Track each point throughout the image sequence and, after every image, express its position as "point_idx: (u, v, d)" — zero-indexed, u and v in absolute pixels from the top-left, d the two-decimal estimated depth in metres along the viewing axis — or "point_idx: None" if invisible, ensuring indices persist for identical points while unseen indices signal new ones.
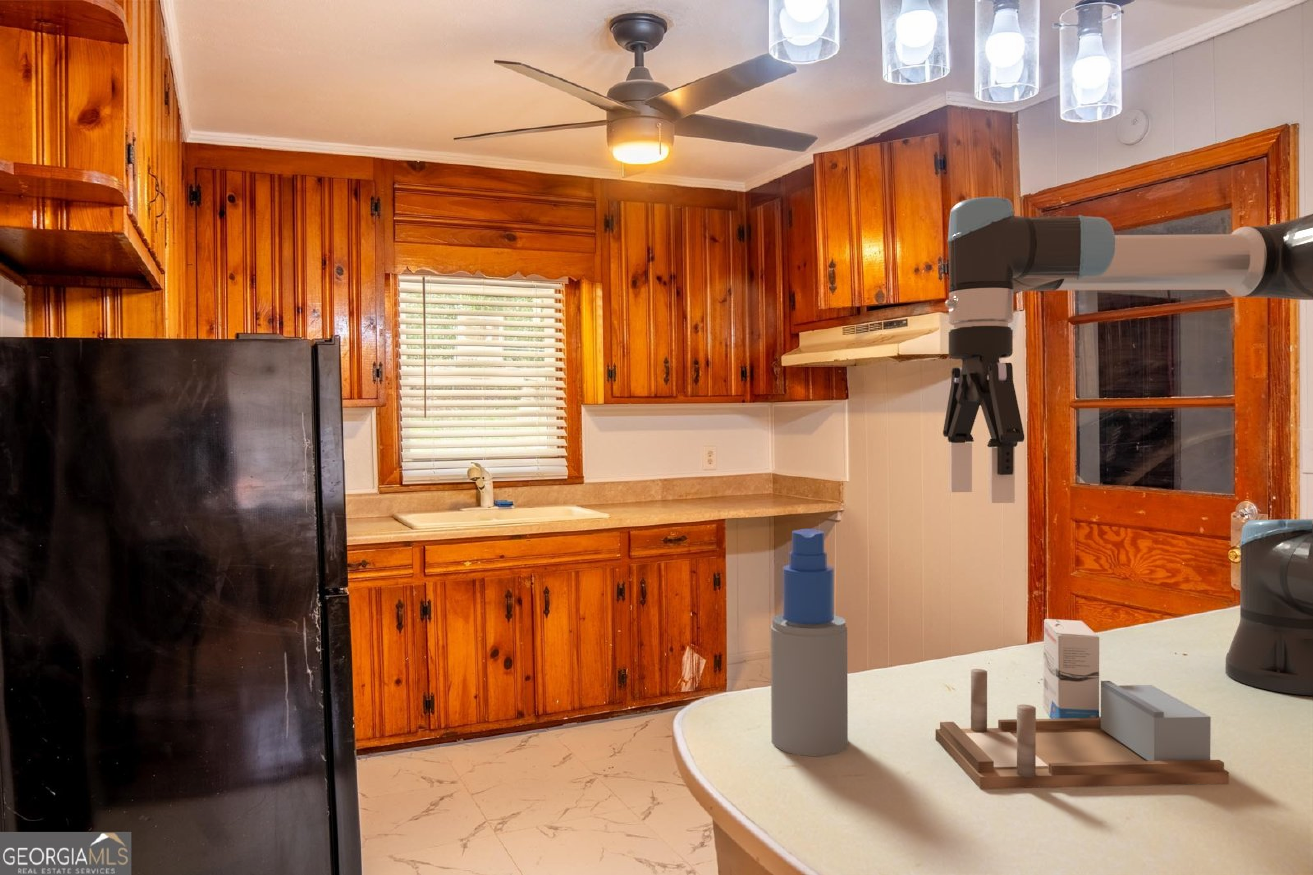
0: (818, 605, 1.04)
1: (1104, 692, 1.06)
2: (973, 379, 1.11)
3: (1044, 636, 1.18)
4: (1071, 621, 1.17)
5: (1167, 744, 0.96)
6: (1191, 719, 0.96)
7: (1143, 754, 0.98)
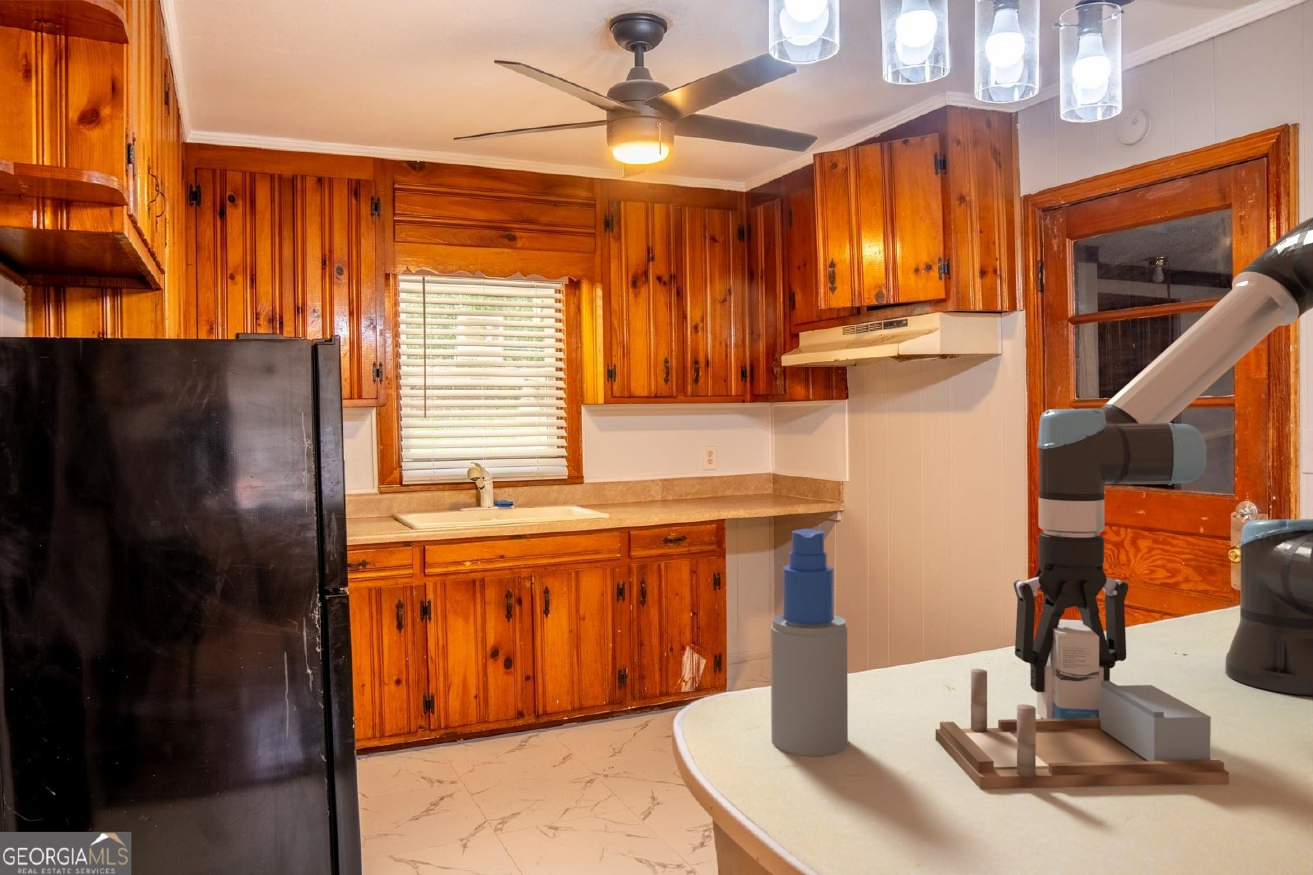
0: (818, 605, 1.04)
1: (1104, 692, 1.06)
2: None
3: None
4: (1071, 621, 1.17)
5: (1167, 744, 0.96)
6: (1191, 719, 0.96)
7: (1143, 754, 0.98)
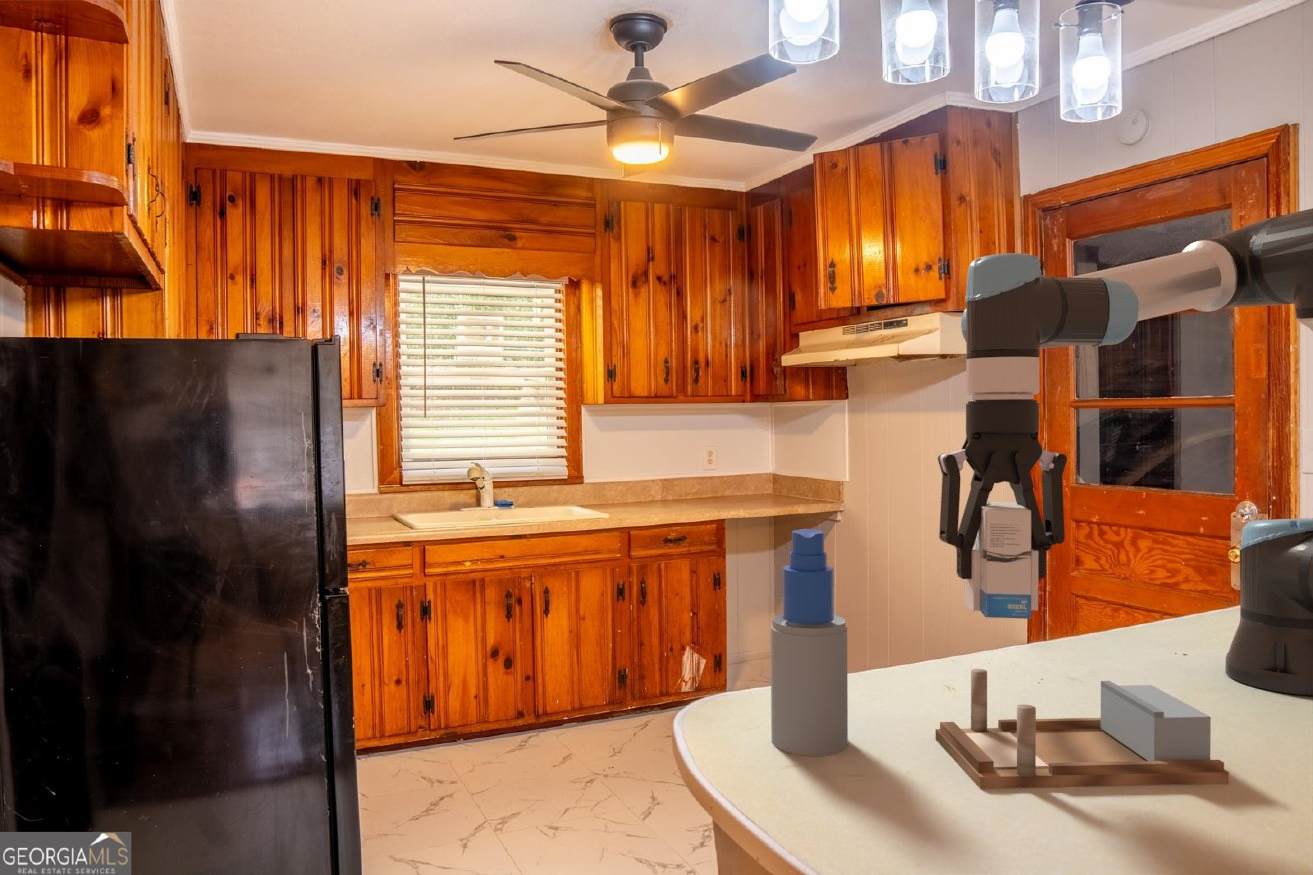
0: (818, 605, 1.04)
1: (1104, 692, 1.06)
2: None
3: None
4: (1004, 502, 1.03)
5: (1167, 744, 0.96)
6: (1191, 719, 0.96)
7: (1143, 754, 0.98)
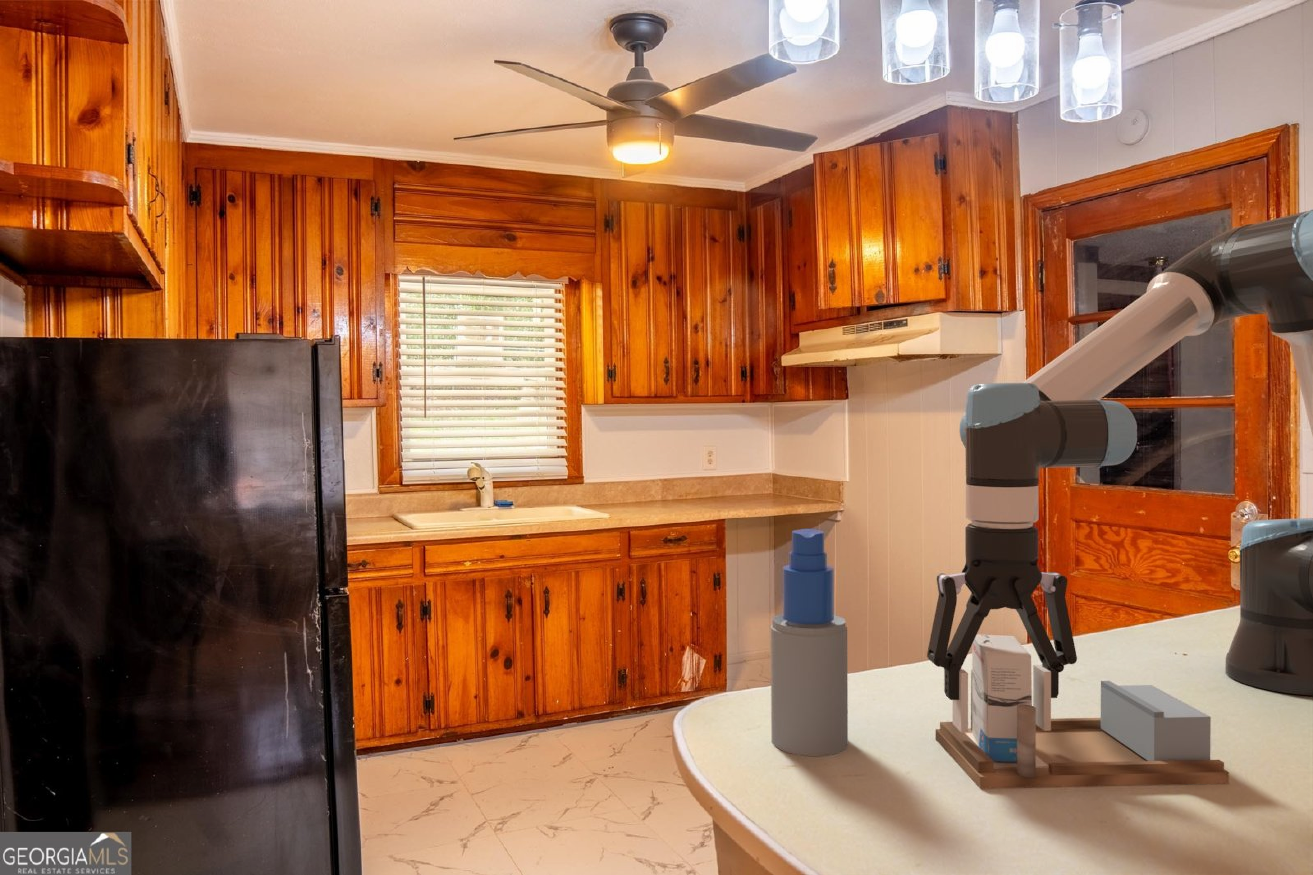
0: (818, 605, 1.04)
1: (1104, 692, 1.06)
2: None
3: (972, 654, 1.05)
4: (1002, 636, 1.04)
5: (1167, 744, 0.96)
6: (1191, 719, 0.96)
7: (1143, 754, 0.98)
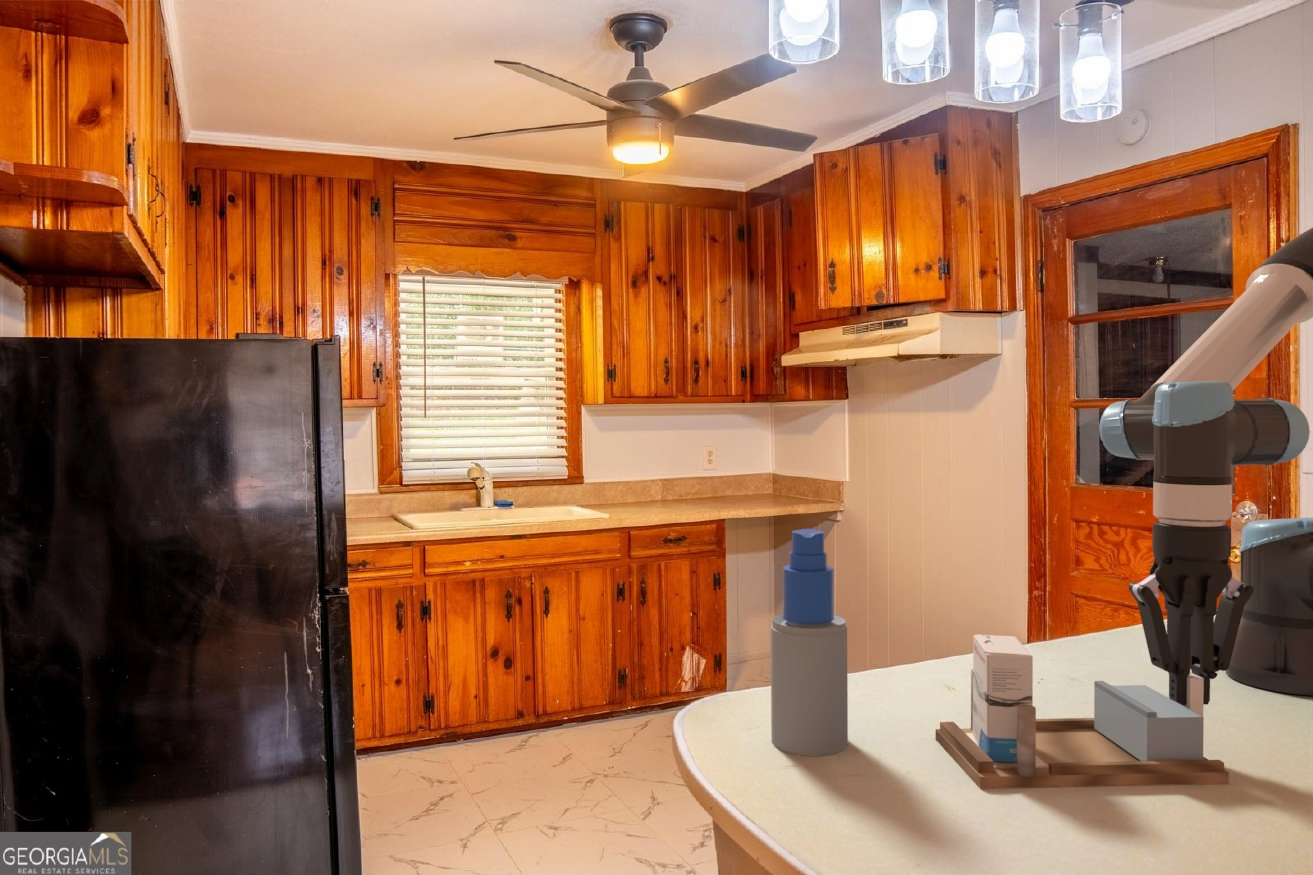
0: (818, 605, 1.04)
1: (1098, 692, 1.06)
2: None
3: (973, 654, 1.05)
4: (1003, 637, 1.04)
5: (1159, 744, 0.96)
6: (1183, 719, 0.96)
7: (1136, 754, 0.98)
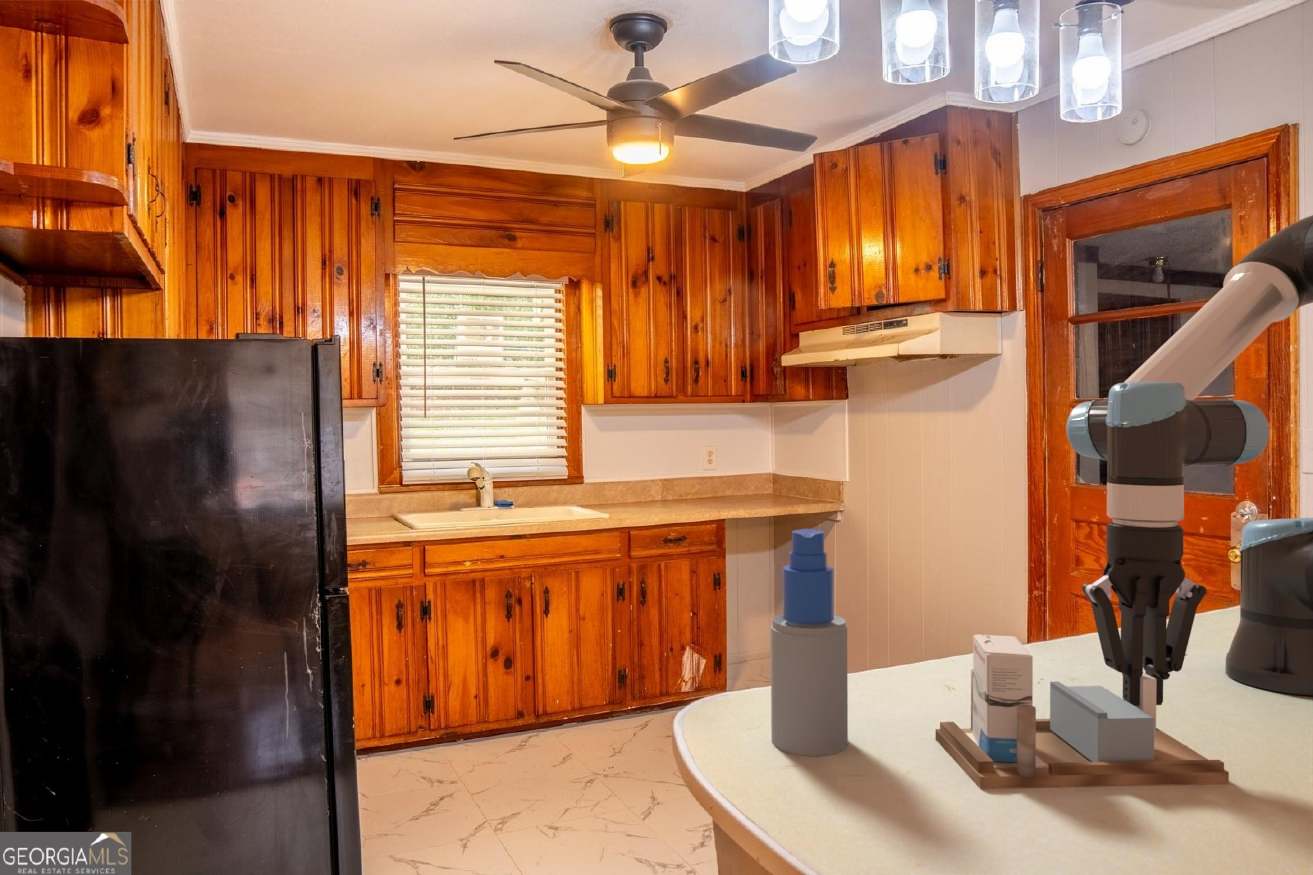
0: (818, 605, 1.04)
1: (1053, 693, 1.06)
2: None
3: (973, 654, 1.05)
4: (1003, 637, 1.04)
5: (1110, 745, 0.96)
6: (1134, 720, 0.96)
7: (1088, 755, 0.98)
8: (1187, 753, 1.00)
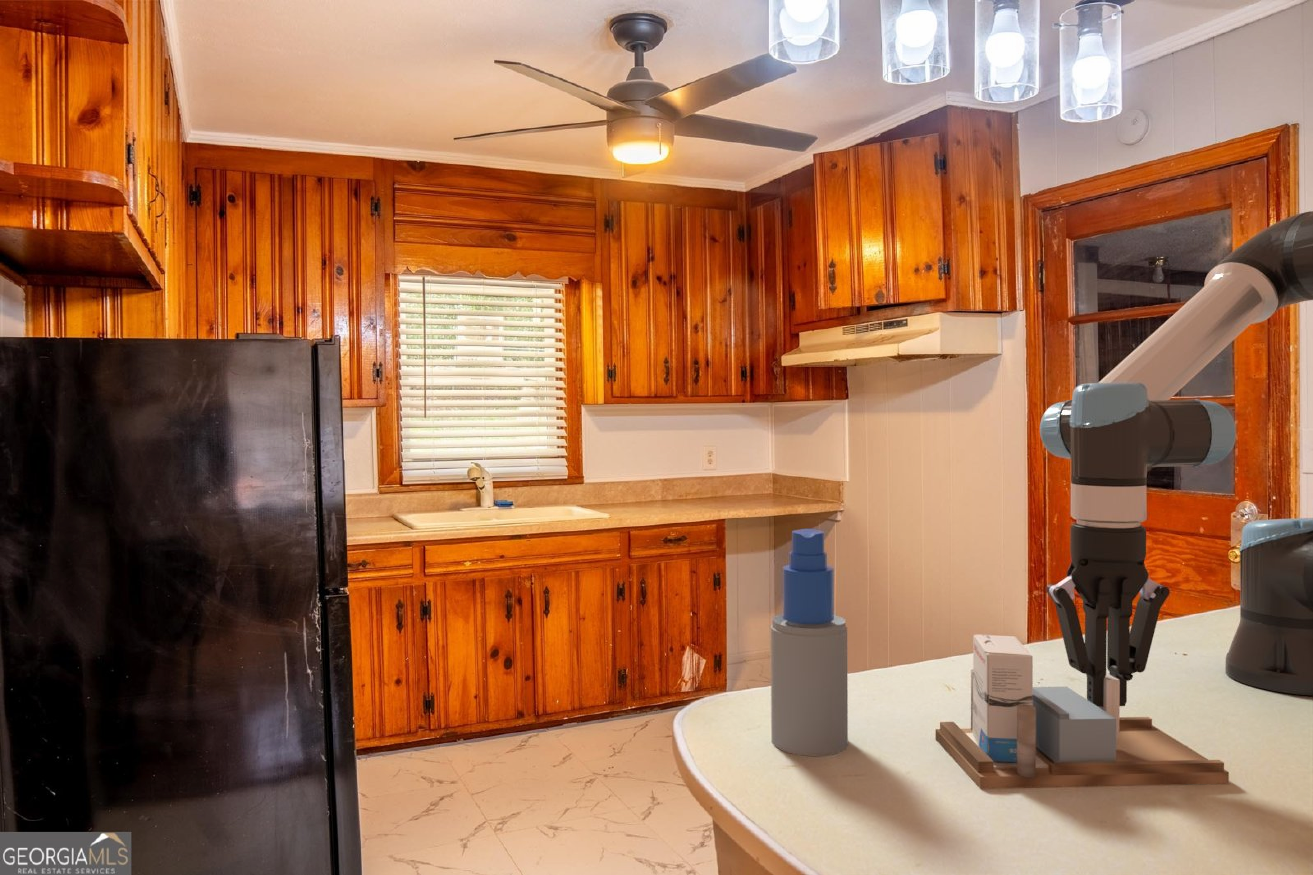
0: (818, 605, 1.04)
1: None
2: None
3: (973, 654, 1.05)
4: (1003, 637, 1.04)
5: (1072, 746, 0.96)
6: (1096, 721, 0.96)
7: (1050, 756, 0.98)
8: (1187, 753, 1.00)
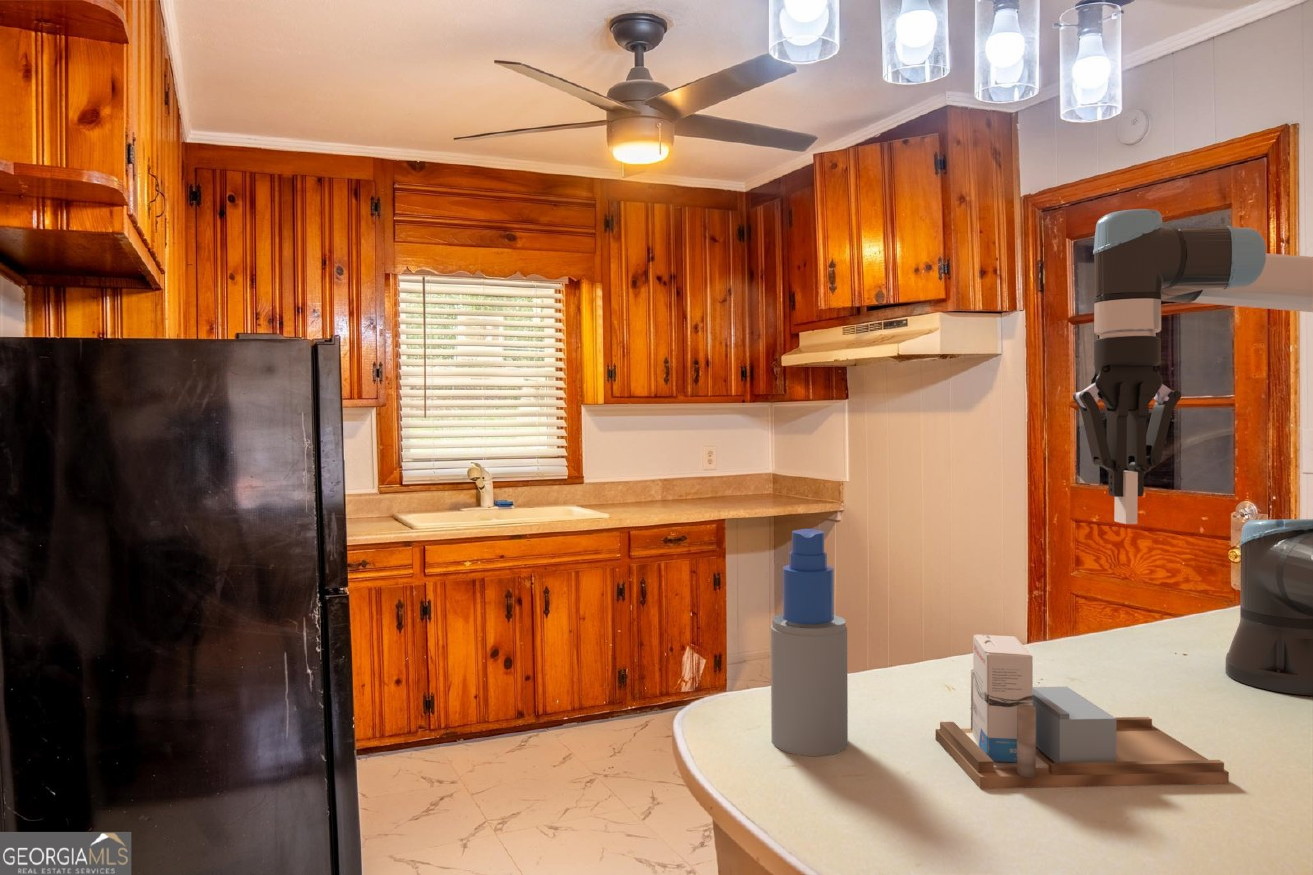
0: (818, 605, 1.04)
1: None
2: None
3: (973, 654, 1.05)
4: (1003, 637, 1.04)
5: (1072, 746, 0.96)
6: (1096, 721, 0.96)
7: (1051, 756, 0.98)
8: (1187, 753, 1.00)
